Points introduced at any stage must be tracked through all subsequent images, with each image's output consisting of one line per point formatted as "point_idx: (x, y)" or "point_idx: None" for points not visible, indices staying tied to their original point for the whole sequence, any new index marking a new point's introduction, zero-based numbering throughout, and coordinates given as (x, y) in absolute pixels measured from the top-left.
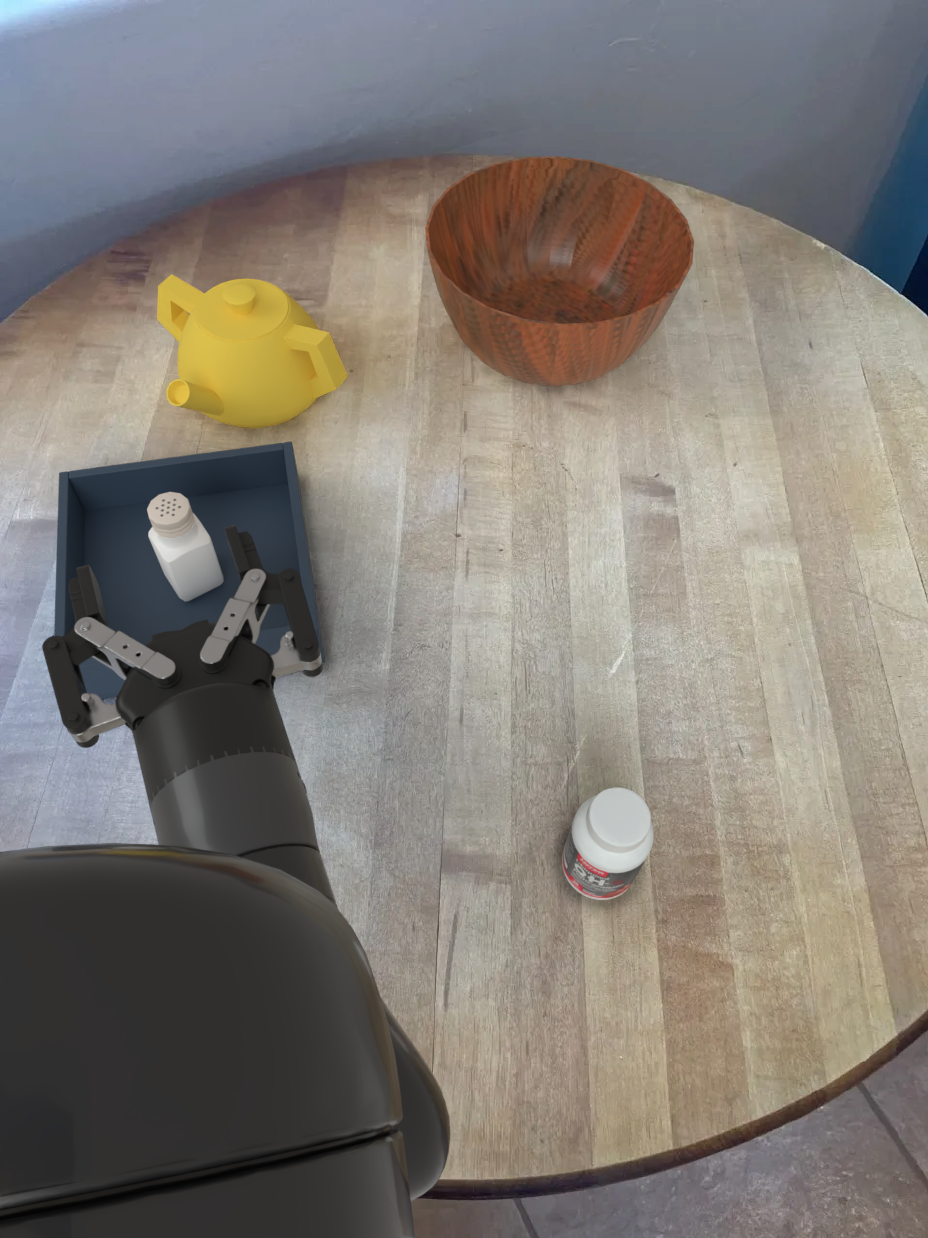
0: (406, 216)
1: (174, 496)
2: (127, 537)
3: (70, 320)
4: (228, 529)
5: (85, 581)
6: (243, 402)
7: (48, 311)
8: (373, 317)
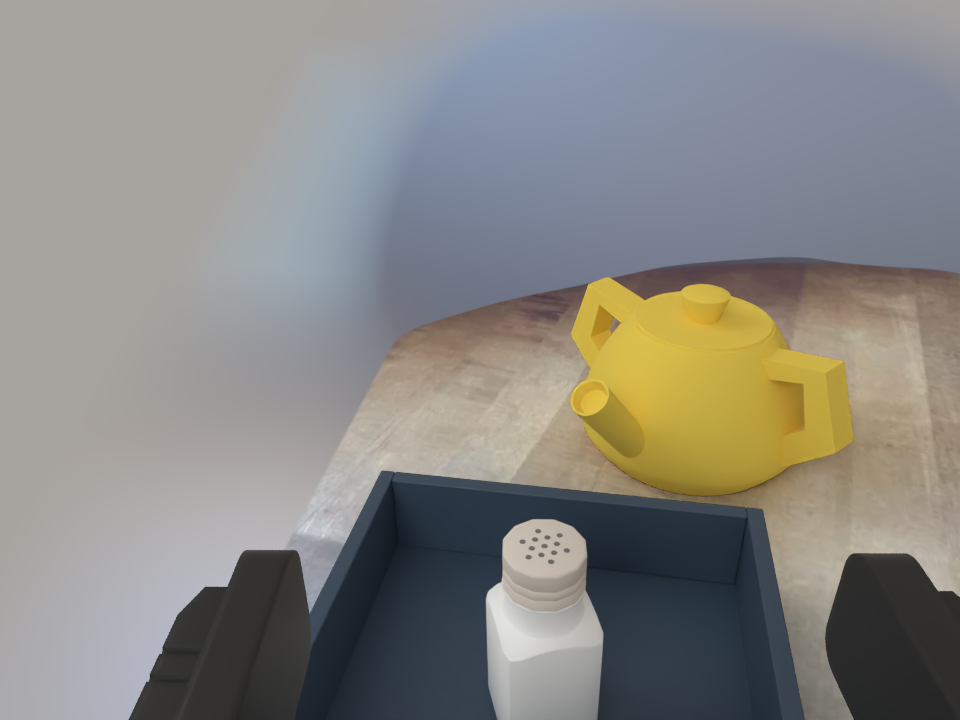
0: (888, 310)
1: (560, 529)
2: (445, 601)
3: (463, 339)
4: (881, 563)
5: (243, 609)
6: (677, 442)
7: (443, 328)
8: (857, 397)
